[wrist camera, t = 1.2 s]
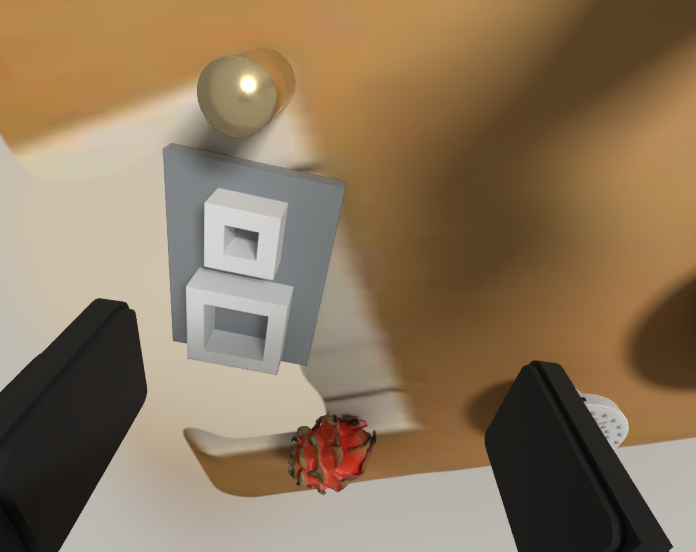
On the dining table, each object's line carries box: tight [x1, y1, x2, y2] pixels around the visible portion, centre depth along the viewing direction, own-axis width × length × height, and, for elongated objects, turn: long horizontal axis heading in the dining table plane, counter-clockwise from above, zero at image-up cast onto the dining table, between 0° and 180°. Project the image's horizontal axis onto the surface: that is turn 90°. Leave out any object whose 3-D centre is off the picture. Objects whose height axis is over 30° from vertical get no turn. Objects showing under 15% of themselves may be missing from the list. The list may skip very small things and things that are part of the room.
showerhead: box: [576, 389, 628, 450], centre depth 40 cm, size 9×7×10 cm
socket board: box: [163, 143, 346, 375], centre depth 35 cm, size 20×14×4 cm
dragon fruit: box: [288, 415, 376, 495], centre depth 46 cm, size 8×8×12 cm
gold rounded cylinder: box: [197, 49, 295, 138], centre depth 24 cm, size 4×4×8 cm
